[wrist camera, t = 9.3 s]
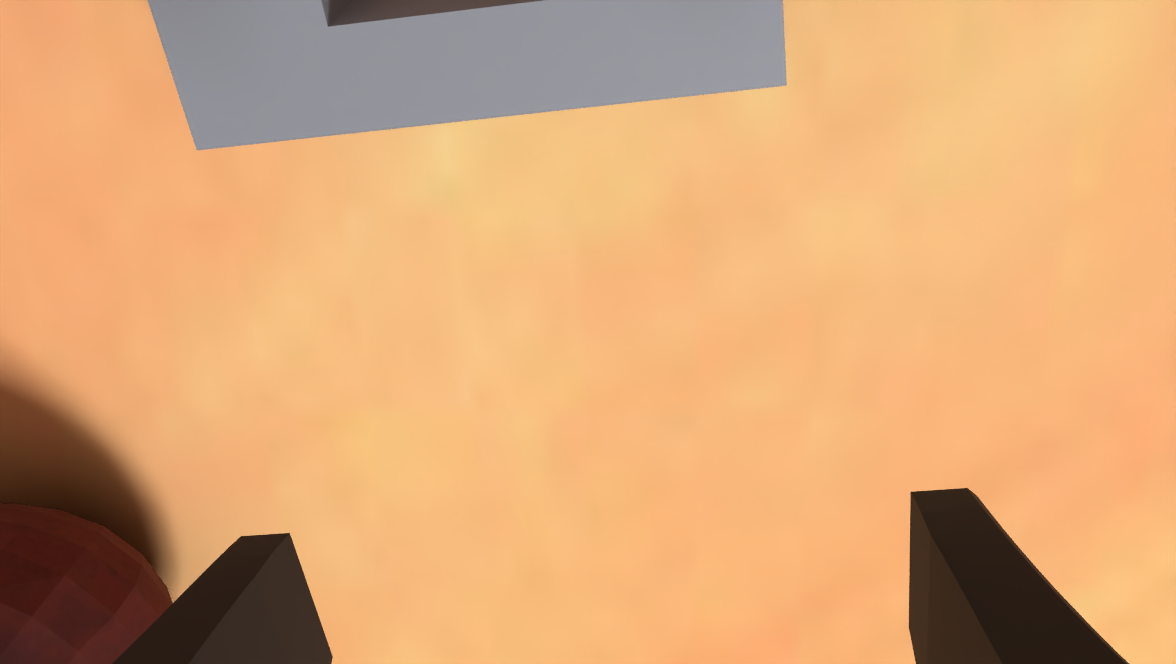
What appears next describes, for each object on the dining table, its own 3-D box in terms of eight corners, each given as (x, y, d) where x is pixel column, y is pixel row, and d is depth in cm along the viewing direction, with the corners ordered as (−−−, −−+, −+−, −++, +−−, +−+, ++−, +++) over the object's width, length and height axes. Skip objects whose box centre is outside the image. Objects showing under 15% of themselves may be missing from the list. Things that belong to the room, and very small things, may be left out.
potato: (-14, 373, 25) (-191, 556, 20) (285, 575, 28) (199, 783, 22) (-152, 546, 28) (-337, 744, 23) (129, 713, 30) (21, 926, 25)
